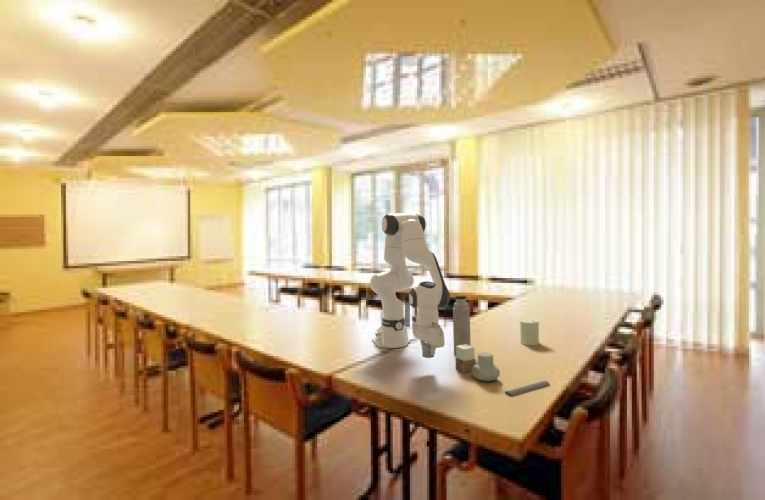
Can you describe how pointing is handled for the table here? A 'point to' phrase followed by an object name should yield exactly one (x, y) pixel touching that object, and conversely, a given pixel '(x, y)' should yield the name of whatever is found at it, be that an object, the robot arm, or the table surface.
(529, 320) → the can
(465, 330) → the thermos bottle
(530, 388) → the half round rod
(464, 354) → the sage block
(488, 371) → the air freshener
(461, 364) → the walnut block
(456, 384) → the table surface
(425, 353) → the short grey cylinder
